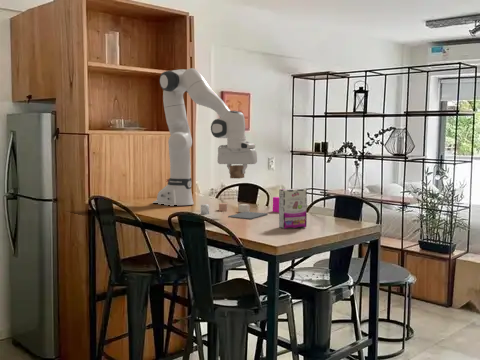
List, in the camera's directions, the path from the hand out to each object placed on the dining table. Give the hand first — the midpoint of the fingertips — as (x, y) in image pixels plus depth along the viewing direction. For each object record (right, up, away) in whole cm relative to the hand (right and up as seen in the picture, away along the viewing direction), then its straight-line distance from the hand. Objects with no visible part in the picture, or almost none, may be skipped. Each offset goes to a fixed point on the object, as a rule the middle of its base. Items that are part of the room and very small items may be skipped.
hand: (237, 173), depth 261 cm
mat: (+5, -21, -1) cm, 21 cm away
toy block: (+26, -20, +19) cm, 38 cm away
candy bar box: (+24, -23, -30) cm, 45 cm away
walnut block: (0, -2, 0) cm, 2 cm away
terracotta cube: (-7, -19, +16) cm, 26 cm away
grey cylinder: (-16, -20, +2) cm, 26 cm away
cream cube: (+3, -20, +12) cm, 23 cm away
